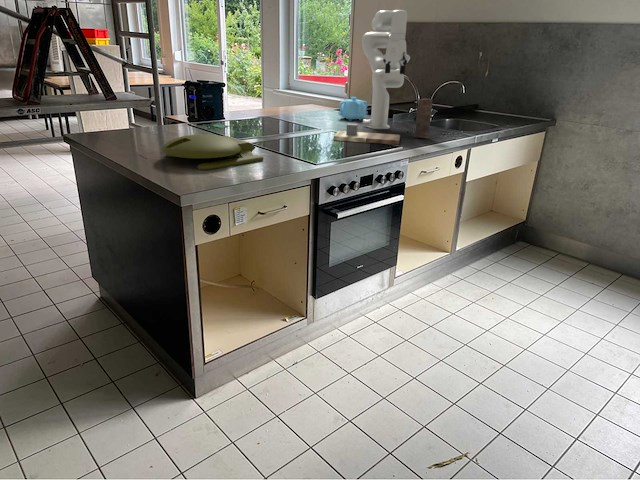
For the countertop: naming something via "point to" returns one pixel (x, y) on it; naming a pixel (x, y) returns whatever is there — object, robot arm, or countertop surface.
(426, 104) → the brown wooden block
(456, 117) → the countertop surface
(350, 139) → the light wood flat board
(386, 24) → the robot arm
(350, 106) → the decorative pot
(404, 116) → the countertop surface
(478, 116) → the countertop surface
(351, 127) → the gray cube
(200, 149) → the spaceship
